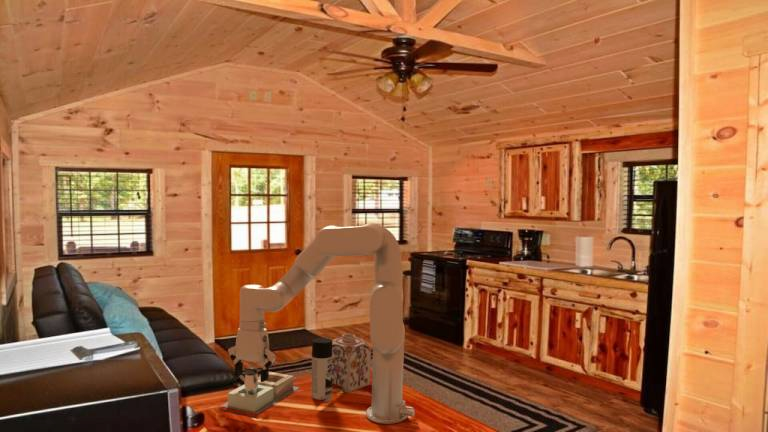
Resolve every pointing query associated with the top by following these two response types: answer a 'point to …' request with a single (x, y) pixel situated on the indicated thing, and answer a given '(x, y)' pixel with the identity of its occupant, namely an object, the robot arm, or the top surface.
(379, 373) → the robot arm
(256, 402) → the sage dock
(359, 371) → the decorative jar
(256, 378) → the steel pin
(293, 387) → the base board
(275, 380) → the maple mount
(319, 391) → the spray can
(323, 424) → the top surface
